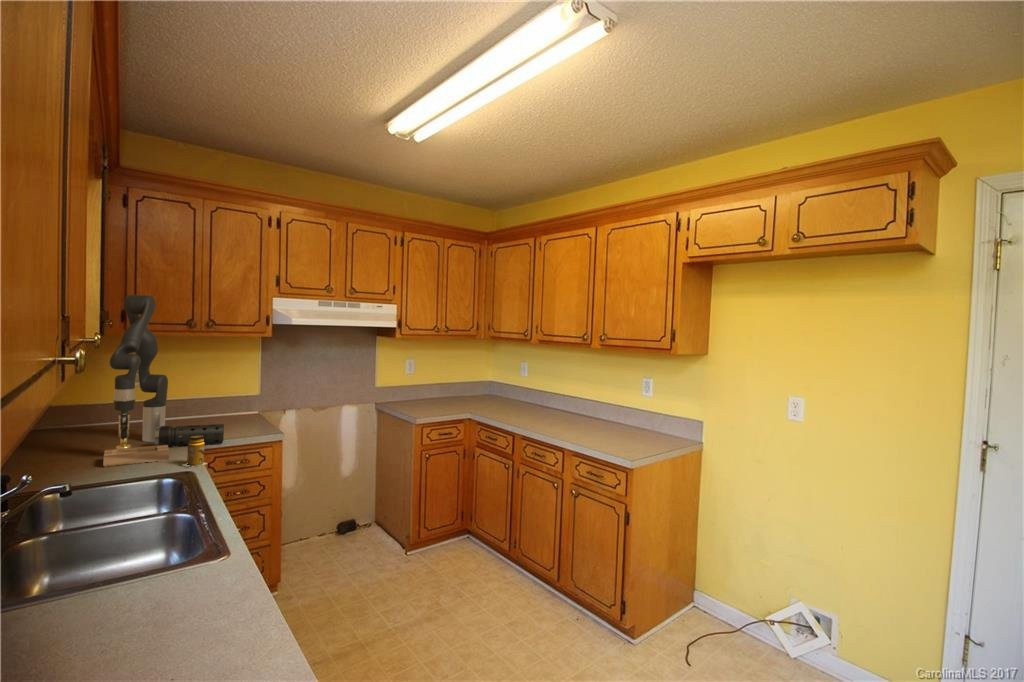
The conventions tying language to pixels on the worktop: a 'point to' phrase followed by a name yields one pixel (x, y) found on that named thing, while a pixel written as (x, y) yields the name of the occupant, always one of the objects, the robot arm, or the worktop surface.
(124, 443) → the brass peg
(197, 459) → the condiment
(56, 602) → the worktop surface
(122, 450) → the keyhole board
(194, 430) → the muzzle brake
